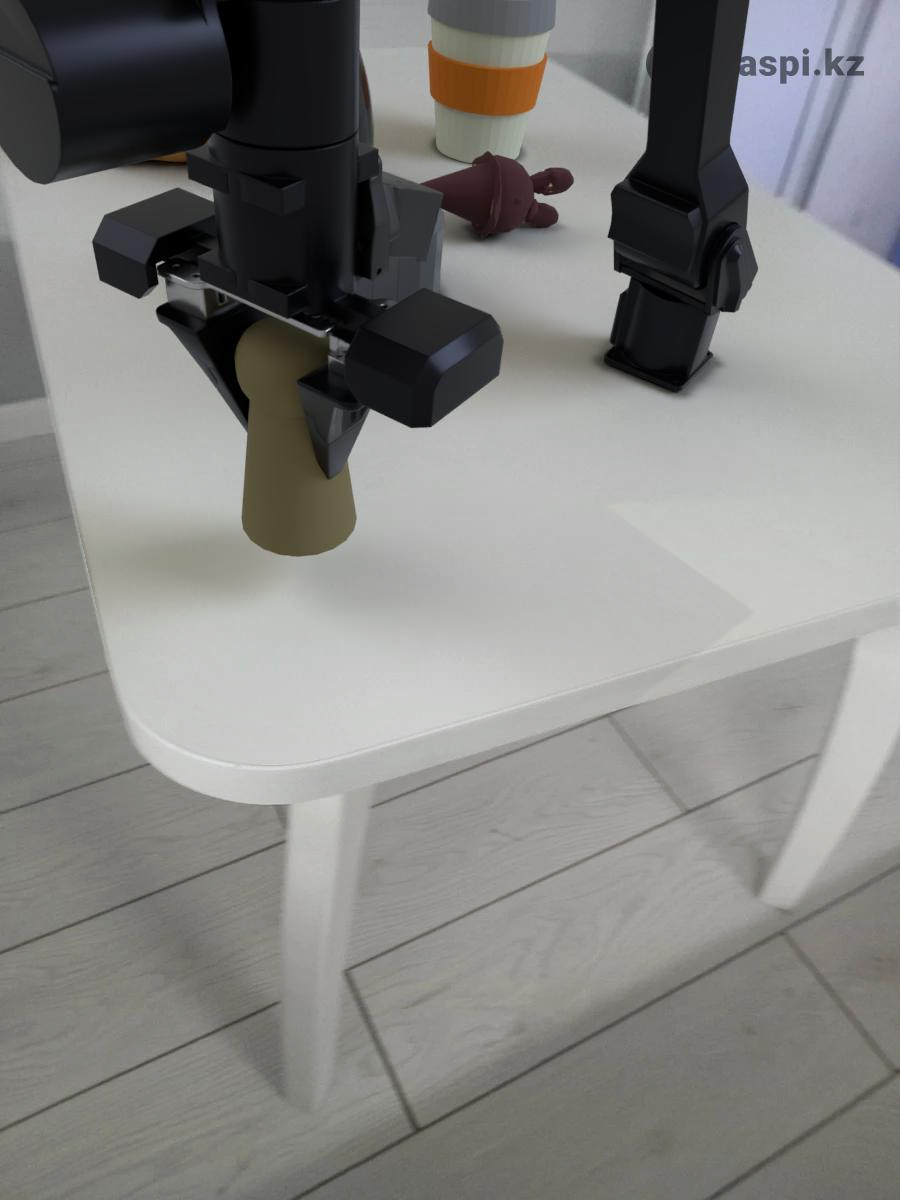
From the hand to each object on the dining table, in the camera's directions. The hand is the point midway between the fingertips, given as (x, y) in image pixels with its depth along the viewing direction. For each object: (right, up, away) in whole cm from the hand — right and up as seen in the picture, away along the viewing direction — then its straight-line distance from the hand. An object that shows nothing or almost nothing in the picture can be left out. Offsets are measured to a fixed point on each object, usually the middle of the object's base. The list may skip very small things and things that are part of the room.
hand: (297, 456), depth 46 cm
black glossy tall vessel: (-5, +33, +43) cm, 55 cm away
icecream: (+11, +26, +38) cm, 47 cm away
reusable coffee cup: (+11, +41, +53) cm, 68 cm away
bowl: (+1, +18, +28) cm, 33 cm away
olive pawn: (0, -3, +3) cm, 4 cm away
